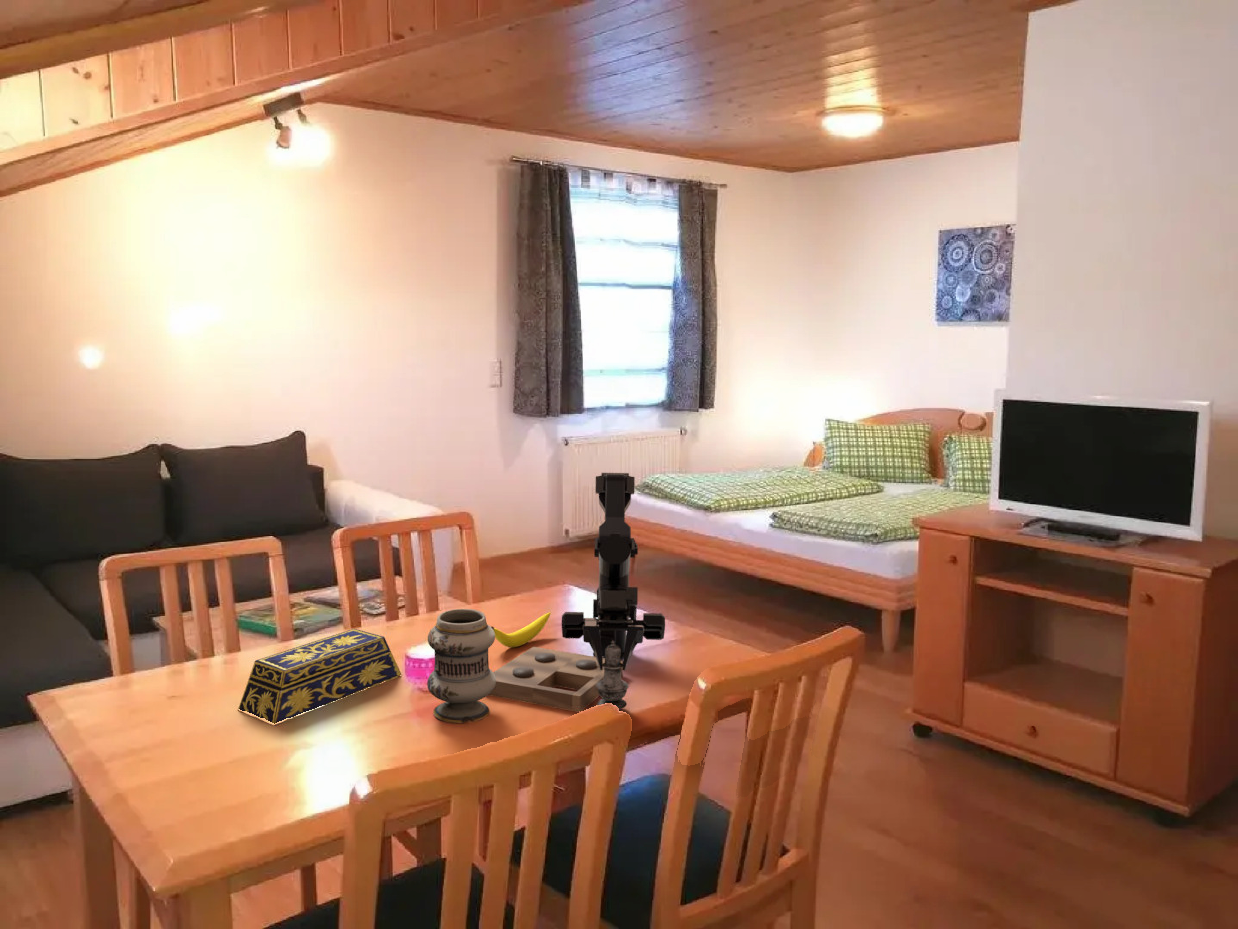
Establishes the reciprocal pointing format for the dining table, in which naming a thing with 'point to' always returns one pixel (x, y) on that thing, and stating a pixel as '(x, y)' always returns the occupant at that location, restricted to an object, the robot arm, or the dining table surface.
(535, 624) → the banana
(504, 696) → the brown peg board
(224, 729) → the dining table surface
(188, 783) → the dining table surface
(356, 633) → the decorative box
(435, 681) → the apothecary jar
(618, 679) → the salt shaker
